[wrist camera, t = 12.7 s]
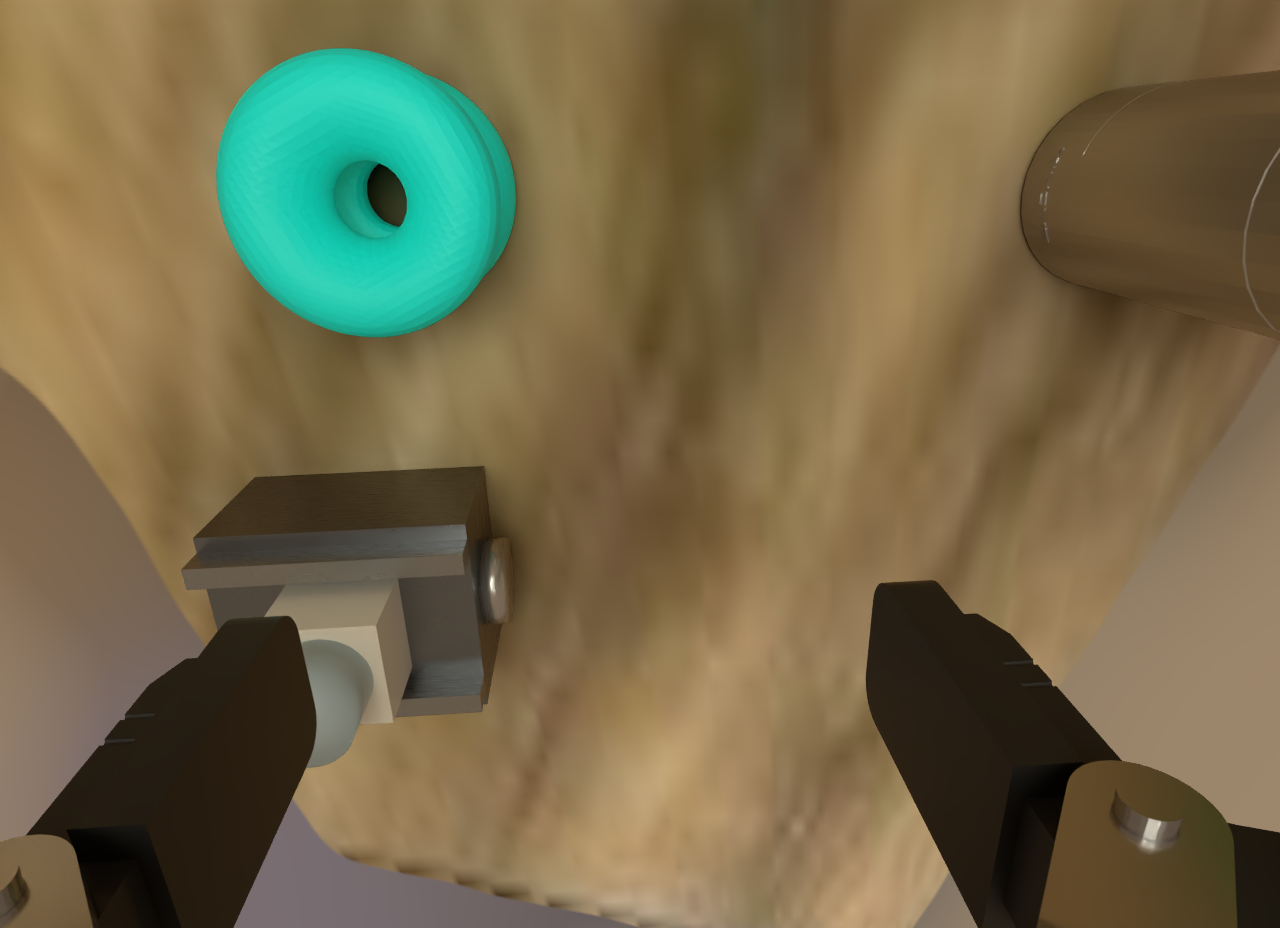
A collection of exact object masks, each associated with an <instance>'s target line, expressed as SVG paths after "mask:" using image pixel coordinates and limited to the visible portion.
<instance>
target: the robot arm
mask: <svg viewBox="0 0 1280 928" xmlns="http://www.w3.org/2000/svg"><path fill="white" fill-rule="evenodd" d="M1021 217H1022V223H1023V229H1024V234H1025V237H1026V239H1027V242H1028V244H1029V247H1030V249H1031V251H1032V253H1033V254H1034V255H1035V257H1036V258H1037V259H1038V261H1039V262H1040V264H1041V265H1042V266H1044V267H1045V268H1046V269H1047V270H1048V271H1050V272H1051V273H1052V274H1053V275H1055V276H1057V277H1059V278H1061V279H1063V280H1066V281H1068V282H1070V283H1074V284H1077V285H1081V286H1085V287H1088V288H1092V289H1096V290H1099V291H1103V292H1107V293H1110V294H1114V295H1117V296H1120V297H1124V298H1128V299H1131V300H1135V301H1139V302H1142V303H1146V304H1150V305H1153V306H1157V307H1161V308H1164V309H1168V310H1172V311H1175V312H1179V313H1183V314H1187V315H1190V316H1194V317H1198V318H1201V319H1205V320H1209V321H1212V322H1216V323H1220V324H1223V325H1227V326H1231V327H1234V328H1238V329H1242V330H1245V331H1249V332H1253V333H1257V334H1260V335H1264V336H1268V337H1271V338H1275V339H1279V340H1280V70H1278V71H1269V72H1260V73H1251V74H1243V75H1234V76H1225V77H1217V78H1208V79H1199V80H1189V81H1178V82H1170V83H1161V84H1153V85H1144V86H1136V87H1127V88H1121V89H1117V90H1113V91H1109V92H1105V93H1102V94H1100V95H1098V96H1096V97H1094V98H1092V99H1090V100H1088V101H1086V102H1084V103H1082V104H1081V105H1079V106H1078V107H1077V108H1075V109H1074V110H1073V111H1071V112H1070V113H1069V114H1067V115H1066V116H1065V117H1064V118H1063V119H1062V120H1061V121H1060V122H1059V123H1058V124H1057V125H1056V126H1055V127H1054V128H1053V129H1052V131H1051V132H1050V133H1049V134H1048V136H1047V137H1046V139H1045V140H1044V142H1043V143H1042V145H1041V146H1040V148H1039V149H1038V151H1037V152H1036V154H1035V157H1034V159H1033V161H1032V163H1031V166H1030V168H1029V170H1028V172H1027V176H1026V180H1025V184H1024V188H1023V193H1022V207H1021ZM866 691H867V698H868V704H869V708H870V711H871V715H872V718H873V720H874V722H875V724H876V726H877V728H878V730H879V732H880V734H881V736H882V738H883V740H884V742H885V744H886V746H887V748H888V750H889V752H890V754H891V756H892V758H893V760H894V762H895V764H896V766H897V768H898V770H899V772H900V774H901V776H902V778H903V780H904V782H905V784H906V786H907V788H908V790H909V792H910V794H911V796H912V798H913V800H914V802H915V804H916V806H917V808H918V810H919V812H920V814H921V816H922V818H923V820H924V822H925V824H926V826H927V827H928V829H929V831H930V833H931V835H932V837H933V839H934V841H935V843H936V845H937V847H938V849H939V851H940V853H941V855H942V857H943V859H944V861H945V863H946V865H947V867H948V869H949V871H950V873H951V875H952V877H953V879H954V881H955V883H956V885H957V887H958V889H959V891H960V893H961V895H962V897H963V899H964V901H965V903H966V905H967V907H968V909H969V911H970V913H971V915H972V916H973V919H974V921H975V923H976V925H977V927H978V928H1280V833H1279V832H1273V831H1268V830H1262V829H1256V828H1251V827H1245V826H1239V825H1235V824H1230V823H1227V822H1226V820H1225V819H1224V817H1223V816H1222V814H1221V813H1220V812H1219V811H1218V810H1217V809H1216V808H1215V807H1214V805H1213V804H1211V803H1210V802H1209V801H1208V800H1207V799H1206V798H1205V797H1204V796H1202V795H1201V794H1200V793H1198V792H1197V791H1196V790H1194V789H1193V788H1191V787H1190V786H1188V785H1187V784H1185V783H1183V782H1181V781H1179V780H1178V779H1176V778H1174V777H1172V776H1170V775H1168V774H1166V773H1163V772H1161V771H1158V770H1155V769H1152V768H1150V767H1147V766H1143V765H1140V764H1136V763H1130V762H1125V761H1122V760H1121V759H1120V758H1119V757H1118V756H1117V755H1116V753H1115V752H1114V751H1113V750H1112V749H1111V748H1110V747H1109V746H1108V745H1107V743H1106V742H1105V741H1104V740H1103V739H1102V738H1101V737H1100V735H1099V734H1098V733H1097V732H1096V731H1095V730H1094V728H1093V727H1092V726H1091V725H1090V724H1089V723H1088V722H1087V721H1086V719H1085V718H1084V717H1083V716H1082V715H1081V714H1080V713H1079V711H1078V710H1077V709H1076V708H1075V707H1074V706H1073V705H1072V703H1071V702H1070V701H1069V700H1068V699H1067V698H1066V697H1065V695H1063V693H1062V692H1061V691H1060V690H1059V689H1058V687H1057V686H1054V687H1053V686H1052V681H1051V680H1050V678H1049V677H1048V676H1047V675H1046V674H1045V673H1044V672H1043V670H1042V669H1041V668H1040V667H1039V666H1038V665H1034V664H1033V659H1032V658H1031V657H1030V656H1029V654H1028V653H1027V652H1026V651H1025V650H1024V649H1023V648H1022V646H1021V645H1020V644H1019V643H1018V642H1017V641H1016V640H1015V639H1014V637H1013V636H1012V635H1011V634H1010V633H1008V632H1006V631H1005V630H1003V629H1001V628H1000V627H998V626H996V625H995V624H993V623H992V622H990V621H988V620H987V619H985V618H983V617H982V616H980V615H979V614H963V613H962V611H961V610H960V609H959V608H958V606H957V605H956V604H955V603H954V602H953V600H952V599H951V598H950V597H949V595H948V594H947V593H946V592H945V591H944V589H943V588H942V587H941V586H940V585H939V584H938V583H937V582H936V581H933V580H927V581H909V582H892V583H880V584H879V585H878V586H877V588H876V590H875V593H874V599H873V608H872V618H871V629H870V639H869V649H868V659H867V670H866ZM316 730H317V716H316V708H315V703H314V699H313V694H312V690H311V685H310V681H309V676H308V672H307V667H306V663H305V658H304V654H303V649H302V645H301V640H300V636H299V632H298V628H297V625H296V623H295V621H294V620H293V619H292V618H291V617H290V616H270V617H252V618H235V619H229V620H228V621H226V622H225V623H224V624H223V625H222V627H221V628H220V629H219V631H218V632H217V633H216V635H215V636H214V637H213V638H212V640H211V641H210V642H209V644H208V645H207V646H206V648H205V649H204V650H203V651H202V653H201V654H200V656H199V657H198V658H192V659H185V660H184V661H182V662H181V663H179V664H178V665H176V666H175V667H174V668H172V669H171V670H169V671H168V672H167V673H165V674H164V675H162V676H161V677H160V678H158V679H157V680H155V681H154V682H152V683H151V684H150V685H149V686H148V687H147V688H146V689H145V691H144V692H143V693H142V694H141V695H140V697H139V698H138V699H137V700H136V702H135V703H134V704H133V705H132V707H131V708H130V709H129V710H128V711H127V713H126V714H125V720H120V721H119V722H118V723H117V725H116V726H115V727H114V728H113V730H112V731H111V732H110V733H109V735H108V736H107V737H106V738H105V744H104V745H103V746H99V747H98V748H97V749H96V750H95V752H94V753H93V754H92V756H90V758H89V759H88V760H87V761H86V763H85V764H84V765H83V766H82V767H81V769H80V770H79V771H78V772H77V774H76V775H75V776H74V777H73V778H72V780H71V781H70V782H69V783H68V785H67V786H66V787H65V788H64V789H63V791H62V792H61V793H60V794H59V796H58V797H57V798H56V799H55V801H54V802H53V803H52V804H51V806H50V807H49V808H48V809H47V810H46V811H45V813H44V814H43V815H42V816H41V817H40V819H39V820H38V821H37V822H36V824H35V825H34V826H33V827H32V828H31V830H30V831H29V832H28V833H27V835H26V836H22V837H17V838H12V839H9V840H5V841H3V842H0V928H233V927H234V925H235V923H236V921H237V919H238V916H239V914H240V912H241V910H242V908H243V905H244V903H245V901H246V898H247V896H248V894H249V892H250V890H251V888H252V886H253V883H254V881H255V879H256V877H257V874H258V872H259V870H260V868H261V866H262V863H263V861H264V859H265V857H266V855H267V852H268V850H269V848H270V846H271V844H272V841H273V839H274V837H275V835H276V833H277V830H278V828H279V826H280V824H281V822H282V819H283V817H284V815H285V813H286V811H287V808H288V806H289V804H290V802H291V800H292V797H293V795H294V793H295V791H296V789H297V786H298V784H299V782H300V780H301V778H302V775H303V773H304V771H305V769H306V767H307V764H308V762H309V760H310V758H311V755H312V752H313V749H314V744H315V739H316Z"/></svg>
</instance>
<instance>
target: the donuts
mask: <svg viewBox="0 0 1280 928" xmlns="http://www.w3.org/2000/svg"><path fill="white" fill-rule="evenodd" d="M379 163H380V164H382V165H384V166H386V167H388V168H389V169H390V170H391V171H392V172H394V173H395V174H396V176H397V177H398V178H399V180H400V181H401V183H402V185H403V187H404V189H405V193H406V197H407V213H406V216H405V219H404V221H403V223H402V225H401V226H400V227H399V226H393V225H391V224H389V223H387V222H385V221H384V220H382V219H381V218H380V217H379V216H378V215H377V214H376V213H375V211H374V210H373V208H372V206H371V204H370V202H369V199H368V194H367V182H368V179H369V176H370V174H371V172H372V170H373V169H374V168H375V167H376V166H377V165H378V164H379ZM216 180H217V193H218V200H219V205H220V210H221V214H222V217H223V221H224V224H225V227H226V230H227V232H228V235H229V237H230V239H231V242H232V244H233V246H234V248H235V250H236V251H237V253H238V255H239V257H240V258H241V260H242V261H243V263H244V264H245V266H246V267H247V269H248V270H249V271H250V273H251V274H252V275H253V277H254V278H255V279H256V280H257V281H258V282H259V284H260V285H261V286H262V287H263V288H264V289H265V290H266V291H267V292H268V293H269V294H270V295H271V296H272V297H274V298H275V299H276V300H277V301H278V302H280V303H281V304H282V305H284V306H285V307H286V308H288V309H289V310H290V311H292V312H294V313H295V314H297V315H298V316H300V317H302V318H304V319H306V320H308V321H309V322H312V323H314V324H316V325H318V326H321V327H323V328H326V329H329V330H332V331H336V332H339V333H343V334H348V335H355V336H362V337H390V336H398V335H403V334H407V333H411V332H415V331H418V330H421V329H423V328H426V327H428V326H430V325H432V324H434V323H436V322H438V321H440V320H441V319H443V318H445V317H446V316H447V315H449V314H450V313H452V312H453V311H454V310H455V309H457V308H458V307H459V306H460V305H461V304H462V303H463V302H464V301H465V300H466V299H467V298H468V297H469V296H470V295H471V293H472V292H473V291H474V290H475V288H476V287H477V286H478V284H479V283H480V281H481V280H482V278H483V277H484V276H485V275H486V274H487V273H488V272H489V271H490V270H491V268H492V267H493V266H494V265H495V263H496V262H497V260H498V259H499V257H500V256H501V254H502V252H503V250H504V249H505V246H506V244H507V242H508V240H509V237H510V234H511V231H512V227H513V223H514V218H515V211H516V187H515V179H514V173H513V169H512V165H511V162H510V159H509V156H508V153H507V151H506V148H505V146H504V144H503V142H502V140H501V138H500V136H499V134H498V133H497V131H496V129H495V128H494V126H493V125H492V123H491V122H490V121H489V119H488V118H487V117H486V116H485V114H484V113H483V112H482V111H481V110H480V109H479V108H478V107H477V106H476V105H475V104H474V103H473V102H472V101H471V100H470V99H469V98H467V97H466V96H465V95H464V94H462V93H461V92H460V91H458V90H456V89H455V88H453V87H452V86H450V85H448V84H447V83H445V82H443V81H441V80H439V79H436V78H434V77H432V76H429V75H426V74H424V73H422V72H421V71H419V70H417V69H415V68H414V67H412V66H410V65H408V64H406V63H403V62H401V61H399V60H397V59H394V58H391V57H388V56H385V55H383V54H379V53H375V52H371V51H366V50H360V49H349V48H332V49H322V50H317V51H312V52H308V53H304V54H301V55H298V56H295V57H293V58H291V59H288V60H286V61H284V62H282V63H280V64H279V65H277V66H275V67H274V68H272V69H271V70H269V71H268V72H266V73H265V74H264V75H263V76H261V77H260V78H259V79H258V80H257V81H256V82H254V83H253V84H252V85H251V86H250V87H249V89H248V90H247V91H246V92H245V93H244V94H243V96H242V97H241V98H240V100H239V101H238V103H237V104H236V106H235V108H234V109H233V111H232V113H231V115H230V117H229V119H228V121H227V123H226V126H225V128H224V131H223V134H222V138H221V141H220V146H219V151H218V158H217V169H216Z"/></svg>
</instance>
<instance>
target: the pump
mask: <svg viewBox="0 0 1280 928" xmlns="http://www.w3.org/2000/svg"><path fill="white" fill-rule="evenodd" d="M270 616H290V617H291V618H292V619H293V620H294V621H295V623H296V625H297V628H298V632H299V636H300V640H301V645H302V649H303V654H304V658H305V663H306V667H307V672H308V676H309V681H310V685H311V690H312V694H313V699H314V703H315V708H316V716H317V730H316V739H315V744H314V749H313V752H312V755H311V758H310V760H309V762H308V764H307V767H306V768H311V767H319V766H323V765H326V764H329V763H331V762H333V761H335V760H337V759H338V758H340V757H341V756H342V755H344V754H345V753H346V751H347V750H348V749H349V747H350V746H351V744H352V741H353V739H354V736H355V734H356V731H357V728H358V726H359V725H363V724H379V723H394V720H395V717H396V714H397V711H398V708H399V705H400V702H401V699H402V696H403V693H404V690H405V687H406V684H407V681H408V678H409V675H410V672H411V669H412V662H411V656H410V650H409V644H408V637H407V631H406V625H405V619H404V613H403V607H402V601H401V595H400V589H399V583H398V578H395V579H377V580H359V581H341V582H323V583H305V584H286V586H285V587H284V588H283V590H282V591H281V593H280V594H279V596H278V597H277V599H276V600H275V601H274V603H273V604H272V606H271V607H270V609H269V610H268V612H267V613H266V615H265V616H264V617H270Z"/></svg>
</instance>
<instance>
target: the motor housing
mask: <svg viewBox="0 0 1280 928" xmlns="http://www.w3.org/2000/svg"><path fill="white" fill-rule="evenodd" d="M193 540H194V544H195V547H196V551H197V554H196V555H195V556H194V557H193V558H192V559H191V560H190V561H189V562H188V563H187V564H186V565H185V566H184V567H183V568H182V569H181V572H182V575H183V579H184V582H185V586H186V589H187V590H195V589H207V592H208V596H209V600H210V603H211V607H212V611H213V614H214V618H215V622H216V626H217V629H218V631H219V629H220V628H221V627H222V625H223V624H224V623H225V622H226V621H228V620H229V619H235V618H252V617H264V616H265V615H266V613H267V612H268V610H269V609H270V607H271V606H272V604H273V603H274V601H275V600H276V599H277V597H278V596H279V594H280V593H281V591H282V590H283V588H284V587H285V586H286V584H305V583H323V582H341V581H359V580H377V579H395V578H398V583H399V589H400V595H401V601H402V607H403V613H404V619H405V625H406V631H407V637H408V644H409V650H410V656H411V662H412V669H411V672H410V675H409V678H408V681H407V684H406V687H405V690H404V693H403V696H402V699H401V702H400V705H399V708H398V711H397V714H396V717H408V716H424V715H440V714H455V713H471V712H482V709H483V704H487V703H488V697H489V691H490V686H491V680H492V675H493V669H494V664H495V658H496V652H497V647H498V641H499V636H500V630H501V624H502V623H511V621H512V617H513V608H514V571H513V559H512V550H511V545H510V541H509V538H508V537H504V538H492V535H491V526H490V517H489V508H488V499H487V489H486V480H485V471H484V466H482V467H461V468H440V469H419V470H399V471H378V472H357V473H337V474H316V475H295V476H275V477H255V478H254V479H253V480H252V481H251V482H250V483H249V484H248V485H247V486H246V487H245V488H244V489H243V490H242V491H241V492H240V493H239V494H238V495H237V496H235V497H234V498H233V499H232V500H231V501H230V502H229V503H228V504H227V505H226V506H225V507H224V508H223V509H222V510H221V511H220V512H219V513H218V514H217V515H216V516H215V517H214V518H213V519H212V520H211V521H210V522H209V523H208V524H207V525H206V526H205V527H204V528H203V529H202V530H201V531H200V532H199V533H198V534H197V535H196V536H195V537H194V538H193Z"/></svg>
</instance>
